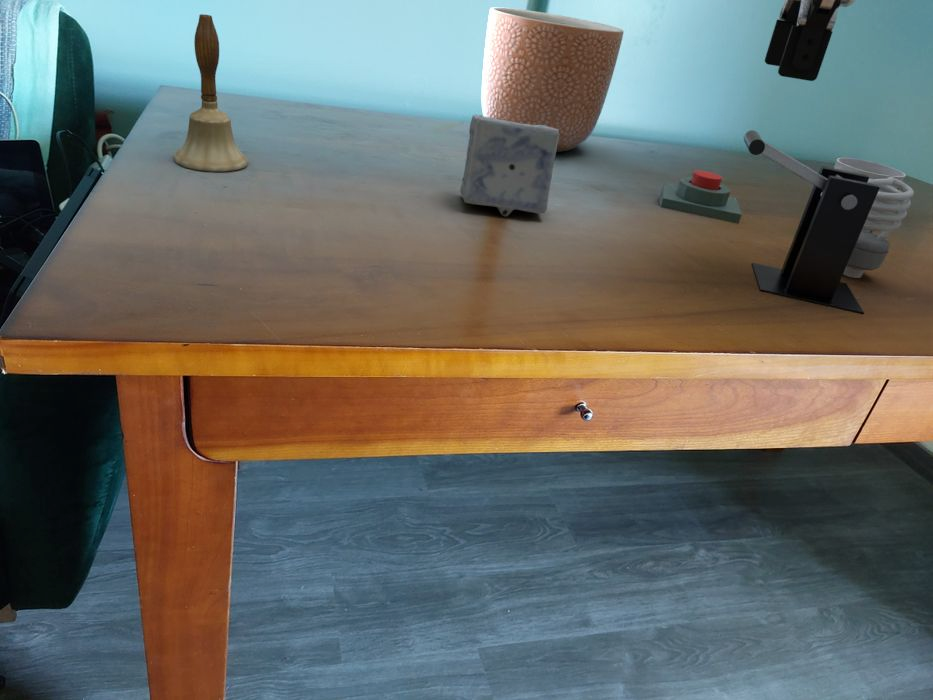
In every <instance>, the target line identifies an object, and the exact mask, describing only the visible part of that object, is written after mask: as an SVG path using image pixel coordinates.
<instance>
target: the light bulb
mask: <svg viewBox="0 0 933 700" xmlns="http://www.w3.org/2000/svg"><path fill="white" fill-rule="evenodd" d="M867 183H870V184H875V185H878V186H879V187H880V189H879V190H881V191H884V192H878V194H877V196H876V198H875V200H877V201H879V202H882V203H875V202H874V203H873V205H872V207H871V210H873V211H875V212H878V213H880V214H874V213H869V214H868V217H867V219H866V220H868V221H871V222H873V223H875V224H869V223H865V224H864V226H863V228H862V230H869V231H874V232H881V234H875V233H869V232H866V231H861V233H860V235H859V238H858V240H857V242H856V245H855V247H854V249H853V252H852V254H851V256H850V259H849V261H848V263H847V266H846V268H845V270H844V273H843V275H844V276H847V277H850V278H854V279H860V278H862V276H863V275H864V273H865V271H874V270H878V269H879V268H880V267H881V266H882V263H883V262H884V261H885V259H886V257H887V255H888V253H889V251H890V248H891V243H890V242H889V241H888V240H887V239H888V236H889V234H890V232H892V231H895V230H897V229H899V228H900V227H901V226H902V220H904V219H905V218H906V217H907V215H908V209H909V208H910V207H911V205H912V202H911V201H912V200H911V198H912V197H914V195H915V191H914V190H913V188H912V187H911V186H909V185H908V184H907V183H905V182H904V181H903V182H902V181H900V180H898V179H896V178H893V177H889V178H887V179H869V180H868V182H867ZM889 185H893V186H895V187H897V188H899V190H897V189H895V188H893V187H891V186H889ZM885 192H886V193H885ZM900 201H901V203H899V202H900ZM883 203H884V204H883ZM892 211H894V212H892ZM895 212H897V213H895ZM843 275H842V276H843Z"/></svg>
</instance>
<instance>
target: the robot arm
mask: <svg viewBox="0 0 933 700" xmlns="http://www.w3.org/2000/svg"><path fill="white" fill-rule="evenodd" d="M856 1H857V0H784V3H783V5H782V7H781V10H780V13H779V16H778V19H776V21H775V25H774V28H773V31H772V33H771V38H770V41H769V44H768V46H767V47H768V48H767V51H766V54H765V57H764V62H765V64H766V65H768V66H775V67H778V69H777V74H778V75H779V76H780V77H784V78H790V79H796V80H803V81H807V82H814V81H816V80H817V79H818V76H819V73H820V70H821V68H822V64H823V62H824V58H825V56H826V52H827V50H828V46H829V44H830V41H831V38H832V35H833V29H834V27H835V25H836V21H837V17H838V16H837V15H838V11H839V8H840V7H841V8H848V7H849V6H852V5H853V4H854V3H855V2H856Z"/></svg>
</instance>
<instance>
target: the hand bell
mask: <svg viewBox="0 0 933 700" xmlns="http://www.w3.org/2000/svg"><path fill="white" fill-rule="evenodd" d="M194 54H195V59H196V63H197V66H198V69H199V73H200V74H199V75H200V93H201V95H200V100H201V107H200V108H199V109H196V110H195V111H193V112H191V113H190V114H189V118H188V119H189V121H188V127H187V128H188V129H187V134H186V139H185V141H184V143H183V145H182V146H181V147H180V149H178V150H177V152H176V153H175V154H174V156H173V161H174V163H176V164H177V165H178V166H181V167H183V168H185V169H190V170H194V171H201V172H210V173H211V172H215V173H224V172H225V173H226V172H233V171H234V172H235V171H238V170H242V169H244V168H246V167H247V166H248V164H249V161H248V159H247V157H246V156H245V154H243V153H242V151H241V150H240V149H239V147H238V145H237V143H236V140H235V138H234V133H233V129H232V121H231V118H230V116H229V115H228V114H227V113H225V112H223V111H221V110H220V109H219V105H218V96H217V84H216V73H217V70H218V66H219V61H220V41H219V36H218V33H217V29H216V26H215V24H214V21H213V16H212V15H209V14H203V13H202V14H199V15H198V23H197V26H196V29H195V33H194Z"/></svg>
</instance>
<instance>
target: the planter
mask: <svg viewBox="0 0 933 700" xmlns="http://www.w3.org/2000/svg"><path fill="white" fill-rule="evenodd" d="M485 34H486V35H485V44H484V53H483V64H482V67H483V68H482V76H481V110H482V116H485V117H488V118H494V119H498V120H506V121H511V122H516V123H522V124H529V125H545V126H548V127H552V128H555V129H558V130H559V141H558V144H557V151H556V153H559V152H568V151H571V150H573V149H575V148H577V147H578V146H580V145H581V144H582V143H584V142H585V141H586V140H587V139H588V138H590V136H591V134H592V133H593V132H594V130H595V128H596V126H597V124H598V121H599V118H600V116H601V113H602V111H603V108H604V105H605V102H606V98H607V95H608V92H609V89H610V86H611V83H612V79H613V76H614V72H615V68H616V65H617V61H618V58H619V54H620V49H621V46H622V42H623V38H624V30H623V29H622V28H619V27H616V26H612V25H609V24H605V23H600V22H597V21H592V20H587V19H583V18H582V19H581V18H576V17H571V16H567V15H561V14H554V13H548V12H542V11H537V10H536V11H535V10H527V9H523V8H522V9H521V8H513V7H503V6H502V7H501V6H500V7H499V6H494V7H493V6H492V7H490V8H489V12H488V20H487V28H486V33H485Z"/></svg>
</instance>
